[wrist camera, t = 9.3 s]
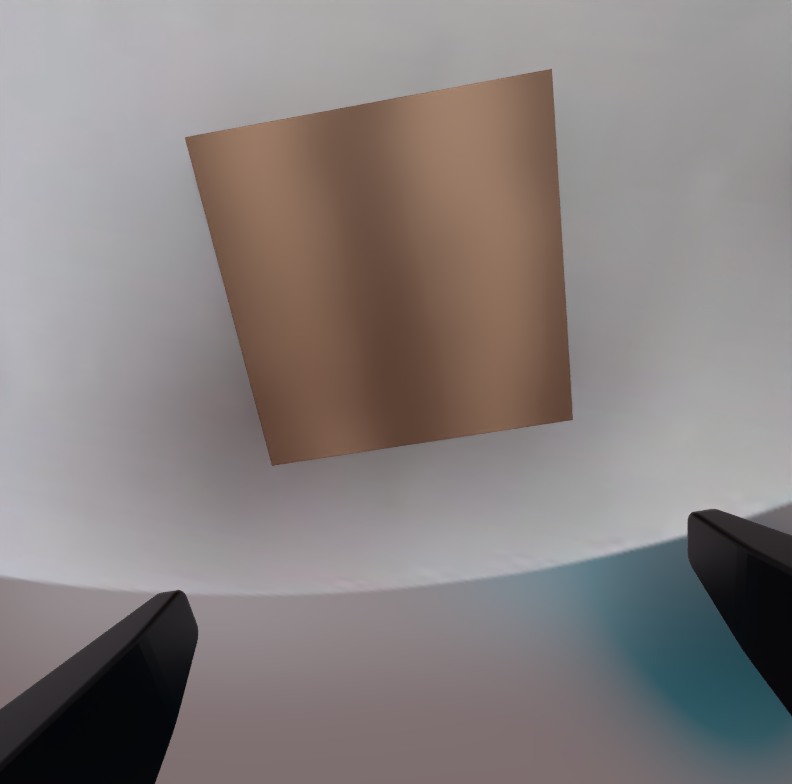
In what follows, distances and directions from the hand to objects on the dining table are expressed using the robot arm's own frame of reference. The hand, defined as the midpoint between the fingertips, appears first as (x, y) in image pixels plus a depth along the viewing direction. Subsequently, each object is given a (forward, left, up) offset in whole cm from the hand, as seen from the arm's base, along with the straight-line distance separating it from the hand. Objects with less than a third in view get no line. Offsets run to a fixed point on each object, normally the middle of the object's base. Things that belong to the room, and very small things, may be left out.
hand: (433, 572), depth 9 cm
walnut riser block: (0, -4, -14) cm, 14 cm away
